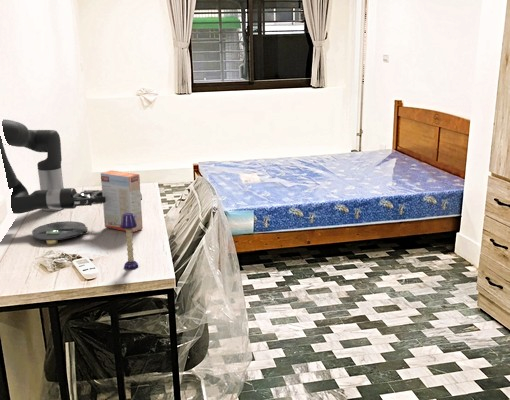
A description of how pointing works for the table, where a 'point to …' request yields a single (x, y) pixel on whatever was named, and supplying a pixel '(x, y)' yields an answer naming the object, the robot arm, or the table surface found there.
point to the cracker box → (121, 198)
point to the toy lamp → (129, 238)
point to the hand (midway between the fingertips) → (107, 197)
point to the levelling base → (59, 231)
